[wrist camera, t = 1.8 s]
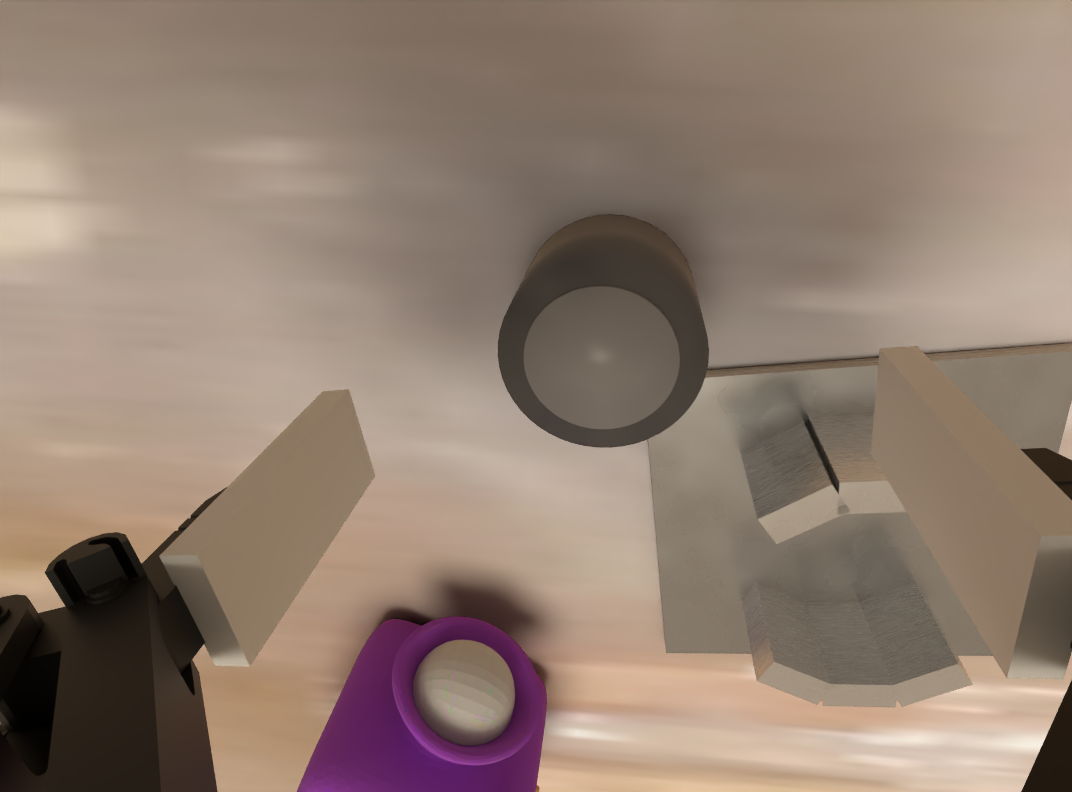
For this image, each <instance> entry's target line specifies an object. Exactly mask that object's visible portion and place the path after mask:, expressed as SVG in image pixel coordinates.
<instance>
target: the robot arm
mask: <svg viewBox="0 0 1072 792" xmlns="http://www.w3.org/2000/svg"><path fill="white" fill-rule="evenodd" d="M871 454H872V455H873V457H874V459H875V460H876V462H877V464H878V465H879V467H880V469H881V470H882V472H883V474H884V475H885V477H886V479H887V480H888V482H889V484H890V485H891V487H892V489H893V490H894V492H895V494H896V495H897V497H898V499H899V500H900V502H901V504H902V505H903V507H904V509H905V510H906V512H907V514H908V515H909V517H910V518H911V520H912V522H913V523H914V525H915V527H916V528H917V530H918V532H919V533H920V535H921V537H922V538H923V540H924V542H925V543H926V545H927V547H928V548H929V550H930V552H931V553H932V555H933V557H934V558H935V560H936V562H937V563H938V565H939V567H940V568H941V570H942V572H943V573H944V575H945V577H946V578H947V580H948V581H949V583H950V585H951V586H952V588H953V590H954V591H955V593H956V595H957V596H958V598H959V600H960V601H961V603H962V605H963V606H964V608H965V610H966V611H967V613H968V615H969V616H970V618H971V620H972V621H973V623H974V625H975V626H976V628H977V630H978V631H979V633H980V635H981V636H982V638H983V640H984V641H985V643H986V645H987V646H988V648H989V649H990V651H991V653H992V654H993V656H994V658H995V659H996V661H997V663H998V664H999V666H1000V668H1001V669H1002V671H1003V673H1004V674H1005V676H1006V678H1009V679H1064V676H1065V673H1066V669H1067V666H1068V662H1069V659H1070V656H1071V652H1072V460H1070V459H1068V458H1066V457H1064V456H1062V455H1060V454H1058V453H1056V452H1054V451H1051V450H1049V449H1047V448H1030V449H1020V448H1019V447H1018V446H1017V445H1016V444H1015V443H1014V442H1013V441H1012V440H1011V439H1010V438H1009V437H1008V436H1007V435H1005V434H1004V433H1003V432H1002V431H1001V430H1000V429H999V428H998V427H997V426H996V425H995V424H994V423H993V422H992V421H991V420H990V419H989V418H988V417H987V416H986V415H985V414H984V413H983V412H982V411H981V410H980V409H979V408H978V407H977V406H976V405H975V404H974V403H973V402H972V401H971V400H970V399H969V398H968V397H967V396H966V395H965V394H964V393H963V392H962V391H961V390H960V389H959V388H958V387H957V386H956V385H955V384H954V383H953V382H952V381H951V380H950V379H949V378H948V377H947V376H946V375H945V374H944V373H943V372H942V371H941V370H940V369H939V368H938V367H937V366H936V365H935V364H934V363H933V362H932V361H931V360H930V359H929V358H928V357H927V356H926V355H925V354H924V353H923V352H922V351H921V350H920V349H919V348H918V347H917V346H911V347H898V348H885V349H880V353H879V364H878V375H877V386H876V397H875V408H874V419H873V431H872V442H871ZM374 477H375V473H374V470H373V467H372V464H371V460H370V457H369V454H368V451H367V447H366V444H365V441H364V437H363V434H362V431H361V428H360V424H359V421H358V418H357V415H356V411H355V408H354V405H353V402H352V398H351V395H350V392H349V390H336V391H323V392H322V393H321V394H320V395H319V396H318V397H317V398H316V399H315V400H314V401H313V402H312V403H311V404H310V405H309V406H308V407H307V408H306V409H305V410H304V411H303V412H302V413H301V414H300V415H299V416H298V417H297V418H296V419H295V420H294V421H293V422H292V423H291V424H290V425H289V426H288V427H287V428H286V429H285V430H284V431H283V432H282V433H281V434H280V435H279V436H278V437H277V438H276V439H275V440H274V441H273V442H272V443H271V444H270V445H269V446H268V447H267V448H266V449H265V450H264V451H263V452H262V453H261V454H260V455H259V456H258V457H257V458H256V459H255V460H254V461H253V462H252V463H251V464H250V465H249V466H248V467H247V468H246V469H245V470H244V471H243V472H242V473H241V474H240V475H239V476H238V477H237V478H236V479H235V480H234V481H233V482H232V483H231V484H230V485H229V486H228V487H226V488H225V489H223V490H222V491H220V492H219V493H217V494H215V495H214V496H212V497H211V498H209V499H208V500H206V501H205V502H204V503H203V504H202V505H201V506H200V507H199V508H198V509H197V510H196V511H195V512H194V513H193V514H192V515H191V518H190V519H187V520H186V521H185V522H184V523H183V524H182V525H181V526H180V527H179V528H178V531H175V532H174V533H172V534H171V535H170V536H169V537H168V538H167V539H166V540H165V541H164V542H163V543H162V544H161V545H160V546H159V547H158V548H157V549H156V550H155V551H154V552H153V553H152V554H151V555H150V556H149V557H148V558H147V559H146V560H145V561H144V562H143V563H142V564H141V563H140V561H139V559H138V557H137V555H136V553H135V551H134V549H133V547H132V546H131V544H130V542H129V540H128V538H127V537H126V535H125V534H121V533H117V532H115V533H106V534H101V535H98V536H95V537H92V538H89V539H86V540H84V541H82V542H80V543H78V544H76V545H73V546H72V547H70V548H69V549H67V550H66V551H64V552H63V553H61V554H60V555H58V556H57V557H56V558H55V559H54V560H53V561H52V562H51V563H50V564H49V566H48V568H47V569H46V571H45V574H46V575H47V577H48V579H49V580H50V582H51V583H52V585H53V587H54V588H55V590H56V592H57V593H58V595H59V596H60V598H61V600H62V601H63V603H64V604H65V606H66V607H62V608H58V609H54V610H50V611H45V612H41V613H38V612H37V611H36V609H35V608H34V606H33V605H32V603H31V602H30V600H29V599H28V598H27V597H26V596H25V595H11V596H6V597H2V598H0V723H1V724H0V792H217V786H216V780H215V773H214V767H213V760H212V754H211V747H210V741H209V734H208V728H207V721H206V715H205V708H204V702H203V695H202V689H201V682H200V676H199V672H198V670H197V668H196V666H195V664H194V662H193V660H192V659H193V657H194V656H195V655H196V653H197V652H198V651H199V649H200V648H201V647H202V646H203V644H205V646H206V648H207V650H208V652H209V654H210V656H211V658H212V660H213V662H214V664H215V666H250V665H251V664H252V662H253V661H254V659H255V658H256V656H257V655H258V653H259V652H260V650H261V649H262V647H263V646H264V644H265V643H266V641H267V640H268V638H269V637H270V635H271V634H272V632H273V630H274V629H275V627H276V626H277V624H278V623H279V621H280V620H281V618H282V617H283V615H284V614H285V612H286V611H287V609H288V608H289V606H290V605H291V603H292V602H293V600H294V599H295V597H296V595H297V594H298V592H299V591H300V589H301V588H302V586H303V585H304V583H305V582H306V580H307V579H308V577H309V576H310V574H311V573H312V571H313V570H314V568H315V567H316V565H317V564H318V562H319V560H320V559H321V557H322V556H323V554H324V553H325V551H326V550H327V548H328V547H329V545H330V544H331V542H332V541H333V539H334V538H335V536H336V535H337V533H338V532H339V530H340V529H341V527H342V525H343V524H344V522H345V521H346V519H347V518H348V516H349V515H350V513H351V512H352V510H353V509H354V507H355V506H356V504H357V503H358V501H359V500H360V498H361V497H362V495H363V494H364V492H365V490H366V489H367V487H368V486H369V484H370V483H371V481H372V480H373V478H374ZM1022 792H1072V681H1071V683H1070V685H1069V687H1068V690H1067V692H1066V694H1065V696H1064V698H1063V701H1062V703H1061V705H1060V707H1059V709H1058V712H1057V714H1056V716H1055V718H1054V721H1053V723H1052V725H1051V727H1050V729H1049V732H1048V734H1047V736H1046V738H1045V741H1044V743H1043V745H1042V747H1041V749H1040V752H1039V754H1038V756H1037V758H1036V760H1035V763H1034V765H1033V767H1032V769H1031V772H1030V774H1029V776H1028V778H1027V780H1026V783H1025V785H1024V787H1023V789H1022Z"/></svg>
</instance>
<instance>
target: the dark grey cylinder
mask: <svg viewBox="0 0 1072 792" xmlns="http://www.w3.org/2000/svg"><path fill="white" fill-rule="evenodd" d="M708 356H709V348H708V339H707V334H706V330H705V325H704V321H703V317H702V313H701V309H700V305H699V301H698V297H697V293H696V289H695V284H694V280H693V277H692V273H691V270H690V267H689V265H688V262H687V260H686V258H685V257H684V255H683V253H682V252H681V250H680V249H679V248H678V246H677V245H676V244H675V243H674V242H673V241H672V240H671V239H670V238H669V237H668V236H667V235H666V234H665V233H663V232H662V231H660V230H659V229H658V228H656V227H654V226H652V225H651V224H649V223H647V222H644V221H642V220H639V219H636V218H632V217H628V216H623V215H598V216H592V217H587V218H584V219H581V220H578V221H576V222H574V223H572V224H569V225H567V226H566V227H564V228H562V229H561V230H559V231H558V232H556V233H555V234H554V235H553V236H552V237H551V238H550V239H548V240H547V242H546V243H545V244H544V245H543V246H542V247H541V249H540V250H539V252H538V253H537V255H536V256H535V258H534V260H533V262H532V263H531V265H530V267H529V269H528V271H527V273H526V275H525V277H524V279H523V281H522V283H521V285H520V287H519V289H518V291H517V293H516V295H515V296H514V298H513V300H512V302H511V304H510V306H509V308H508V310H507V313H506V315H505V317H504V319H503V322H502V326H501V329H500V334H499V340H498V359H499V367H500V371H501V375H502V378H503V381H504V383H505V386H506V388H507V390H508V392H509V394H510V395H511V397H512V399H513V401H514V402H515V403H516V405H517V406H518V407H519V408H520V410H521V411H522V412H523V413H524V414H525V415H526V416H527V417H528V418H529V419H530V420H531V421H533V422H534V423H535V424H536V425H537V426H539V427H540V428H542V429H543V430H545V431H547V432H548V433H550V434H552V435H554V436H556V437H558V438H560V439H563V440H566V441H569V442H571V443H575V444H579V445H584V446H591V447H619V446H626V445H630V444H635V443H638V442H641V441H644V440H647V439H649V438H651V437H653V436H655V435H657V434H660V433H661V432H663V431H664V430H666V429H667V428H669V427H670V426H672V425H673V424H674V423H675V422H676V421H678V420H679V419H680V418H681V417H682V416H683V415H684V414H685V413H686V411H687V410H688V409H689V408H690V406H691V405H692V404H693V402H694V401H695V399H696V398H697V396H698V394H699V392H700V390H701V388H702V385H703V382H704V379H705V376H706V372H707V367H708Z"/></svg>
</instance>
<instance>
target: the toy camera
mask: <svg viewBox="0 0 1072 792" xmlns="http://www.w3.org/2000/svg"><path fill="white" fill-rule="evenodd" d="M546 705H547V698H546V689H545V685H544V683H543V681H542V679H541V678H540V677H539V676H538V675H537V674H536V672H535V669H534V667H533V665H532V663H531V662H530V660H529V658H528V657H527V655H526V654H525V652H524V651H523V650H522V649H521V647H520V646H519V645H518V644H517V643H516V642H515V641H514V640H513V639H512V638H511V637H510V636H509V635H507V634H506V633H505V632H503V631H502V630H500V629H499V628H497V627H495V626H493V625H491V624H489V623H487V622H485V621H482V620H479V619H475V618H470V617H462V616H453V617H445V618H440V619H436V620H433V621H431V622H428V623H426V624H424V625H422V626H421V625H418V624H415V623H412V622H409V621H405V620H400V619H390V620H387V621H385V622H383V623H382V624H381V625H379V626H378V627H377V628H376V630H375V631H374V632H373V633H372V634H371V636H370V637H369V639H368V640H367V642H366V643H365V645H364V647H363V649H362V650H361V652H360V654H359V656H358V658H357V660H356V662H355V664H354V666H353V668H352V671H351V673H350V675H349V677H348V679H347V681H346V683H345V686H344V688H343V690H342V692H341V694H340V696H339V698H338V701H337V703H336V705H335V707H334V709H333V711H332V714H331V716H330V718H329V720H328V722H327V724H326V726H325V729H324V731H323V733H322V735H321V737H320V739H319V741H318V744H317V746H316V748H315V750H314V752H313V754H312V757H311V759H310V761H309V764H308V766H307V768H306V771H305V773H304V776H303V778H302V780H301V783H300V785H299V788H298V790H297V792H539V786H537V778H538V771H539V764H540V757H541V749H542V741H543V734H544V726H545V717H546Z"/></svg>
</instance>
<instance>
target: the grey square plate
mask: <svg viewBox="0 0 1072 792" xmlns="http://www.w3.org/2000/svg"><path fill="white" fill-rule="evenodd" d="M925 355H926V356H927V357H928V358H929V359H930V360H931V361H932V362H933V363H934V364H935V365H936V366H937V367H938V368H939V369H940V370H941V371H942V372H943V373H944V374H945V375H946V376H947V377H948V378H949V379H950V380H951V381H952V382H953V383H954V384H955V385H956V386H957V387H958V388H959V389H960V390H961V391H962V392H963V393H964V394H965V395H966V396H967V397H968V398H969V399H970V400H971V401H972V402H973V403H974V404H975V405H976V406H977V407H978V408H979V409H980V410H981V411H982V412H983V413H984V414H985V415H986V416H987V417H988V418H989V419H990V420H991V421H992V422H993V423H994V424H995V425H996V426H997V427H998V428H999V429H1000V430H1001V431H1002V432H1003V433H1004V434H1005V435H1007V436H1008V437H1009V438H1010V439H1011V440H1012V441H1013V442H1014V443H1015V444H1016V445H1017V446H1018V447H1019V448H1020V449H1030V448H1047V449H1049V450H1051V451H1054V452H1056V453H1058V452H1059V448H1060V444H1061V440H1062V436H1063V432H1064V428H1065V424H1066V420H1067V416H1068V412H1069V408H1070V404H1071V401H1072V343H1064V344H1051V345H1037V346H1024V347H1011V348H997V349H984V350H971V351H957V352H944V353H931V354H925ZM878 364H879V357H877V358H864V359H850V360H837V361H824V362H810V363H797V364H784V365H770V366H757V367H744V368H730V369H717V370H707V372H706V376H705V379H704V382H703V385H702V388H701V390H700V392H699V394H698V396H697V398H696V399H695V401H694V402H693V404H692V405H691V406H690V408H689V409H688V410H687V411H686V413H685V414H684V415H683V416H682V417H681V418H680V419H679V420H678V421H676V422H675V423H674V424H673V425H672V426H670V427H669V428H667V429H666V430H664V431H663V432H661V433H660V434H657V435H655V436H653V437H651V438H649V439H648V445H649V457H650V469H651V481H652V492H653V504H654V516H655V528H656V539H657V551H658V563H659V574H660V586H661V598H662V610H663V621H664V633H665V645H666V653H730V654H752V658H753V663H754V669H755V674H756V679H757V681H758V682H761V683H763V684H766V685H768V686H771V687H774V688H776V689H779V690H781V691H784V692H786V693H789V694H791V695H794V696H796V697H799V698H801V699H804V700H807V701H809V702H812V703H814V704H818V703H819V702H820V701H821V700H822V704H823V706H853V707H896V700H897V701H898V702H899V703H900V705H901V706H905V705H909V704H912V703H915V702H918V701H921V700H925V699H928V698H931V697H934V696H938V695H941V694H944V693H947V692H950V691H954V690H957V689H960V688H963V687H966V686H970V685H973V684H972V682H971V680H970V678H969V676H968V674H967V673H966V671H965V669H964V667H963V665H962V663H961V661H960V659H959V658H958V656H957V655H961V656H993V654H992V653H991V651H990V649H989V648H988V646H987V645H986V643H985V641H984V640H983V638H982V636H981V635H980V633H979V631H978V630H977V628H976V626H975V625H974V623H973V621H972V620H971V618H970V616H969V615H968V613H967V611H966V610H965V608H964V606H963V605H962V603H961V601H960V600H959V598H958V596H957V595H956V593H955V591H954V590H953V588H952V586H951V585H950V583H949V581H948V580H947V578H946V577H945V575H944V573H943V572H942V570H941V568H940V567H939V565H938V563H937V562H936V560H935V558H934V557H933V555H932V553H931V552H930V550H929V548H928V547H927V545H926V543H925V542H924V540H923V538H922V537H921V535H920V533H919V532H918V530H917V528H916V527H915V525H914V523H913V522H912V520H911V518H910V517H909V515H908V514H907V512H906V510H905V509H904V507H903V505H902V504H901V502H900V500H899V499H898V497H897V495H896V494H895V492H894V490H893V489H892V487H891V485H890V484H889V482H888V480H887V479H886V477H885V475H884V474H883V472H882V470H881V469H880V467H879V465H878V464H877V462H876V460H875V459H874V457H873V455H872V454H871V442H872V431H873V419H874V408H875V397H876V386H877V375H878Z"/></svg>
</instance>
